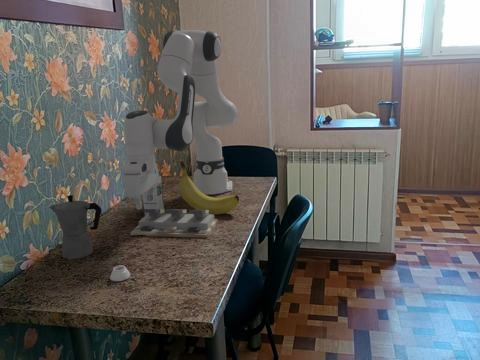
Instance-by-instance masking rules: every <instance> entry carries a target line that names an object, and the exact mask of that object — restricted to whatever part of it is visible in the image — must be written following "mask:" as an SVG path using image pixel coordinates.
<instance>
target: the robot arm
mask: <svg viewBox="0 0 480 360" xmlns="http://www.w3.org/2000/svg"><path fill="white" fill-rule="evenodd" d="M221 51H222V40H221V38H220V36H219V34H218V33H216V32H214V31H210V30H207V31H206V30H199V29H183V30H178V29H175V30H174V29H173V30H169V31H167V32H166V33H165V35H164V36H163V39H162V52H161V55H160V59H159V62H158V65H157V76H158V78H159V81H160V82H161V84H163V86H165V88H168V89H170V90H172V91H173V92H175V93H177V95H178V97H177V98H178V99H177V106H176V107H177V108H176V115H175V117H174V118H172V119H161V118H159V119H158V118H156V117H154V116H152V115H151V114H150V112H149V111H148V110H135V111H131V112H129V113H127V114H126V115H125V116H124V122H123V136H124V143H125V146H126V153H125V155H126V157H125V161H124V162H123V165H121V168H120V172H121V174H123V176H122V177H123V179H122V181H123V188H124V189H123V190H124V195H125V197H126V198H127V199H132V200H133V203H134V204H135V209H136V210H143V209H144V202H142V200H141V199H142V196H143V194H144V193H146V192H147V191H148V195H147V200H148V201H152V200H153V199H154V196H153V195H154V189H155V188H154V186H156V185H157V184H158V183H159V175H160V174H159V169H158V165H157V163H156V153H155V149H161V150H170V151H176V152H183V151H185V150H187V148H189V147H190V145H191V144H192V142H193V141H194V145H195V151H196V159H195V162H196V163H195V166H196V170H195V171H194V172H193V183H194V184H195V186H196V187H197V188H198V189H199V190H200V191H201V192H202V193H203V194H205V195H217V194H218V195H220V194H223V193H227V192H233V181H232V180H230V179H229V178H228V171H227V170H226V168H225V161H224V156H223V150H222V149H223V144H222V141H221V140H220V138H219V137H217V136H215V135H213V134H210V133H209V132H208V131H207V129H208V128H224V127H229V126H233V125H234V124H235V123H236V121H237V119H238V113H239V112H238V107H236V105H235V103H233V102H232V101H230V100H229V99H228V98H227V97H225V95H224V93H223V92H222V90H221V88H220V85H219V78H218V77H219V76H218V65H217V59H219V57H220V56H221ZM196 95H197V96H199V97H201V98H203V99H204V100H206V101H196Z"/></svg>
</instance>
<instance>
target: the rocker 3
mask: <svg viewBox="0 0 480 360" xmlns="http://www.w3.org/2000/svg"><path fill="white" fill-rule="evenodd" d="M188 214H194V217H201V218H204V214H209V210H196V209H189V210H188Z"/></svg>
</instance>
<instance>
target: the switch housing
mask: <svg viewBox="0 0 480 360" xmlns="http://www.w3.org/2000/svg"><path fill="white" fill-rule="evenodd" d="M214 219H215V214H204V218H201V217H194V214H189V213H181V217H171V213H159V217H156V216H149V213H148V214H147V215H146V216H145V215H144V217H142V218H141V219H140V220H139V221H138V225H139V227H143V226H154V228H165V227H177V228H184V229H189V227H200V229H208V228H209V227H210V225H211V224H212V223H213V221H214Z"/></svg>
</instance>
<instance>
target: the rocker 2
mask: <svg viewBox="0 0 480 360" xmlns="http://www.w3.org/2000/svg"><path fill="white" fill-rule="evenodd" d="M187 211H188V210H187V209H175V208H174V209H171V208H169V209H167V208H166V209H165V214H171V217H181V214H188V213H187Z"/></svg>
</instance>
